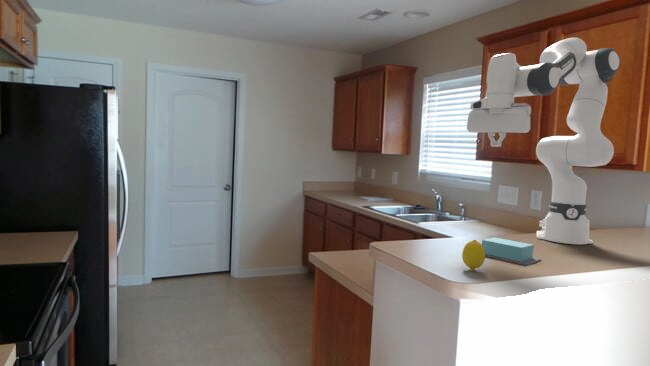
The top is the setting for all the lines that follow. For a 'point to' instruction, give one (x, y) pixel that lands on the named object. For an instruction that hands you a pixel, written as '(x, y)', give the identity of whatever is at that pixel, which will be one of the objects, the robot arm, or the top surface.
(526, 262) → the mat
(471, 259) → the lemon
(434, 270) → the top surface
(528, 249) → the teal block
